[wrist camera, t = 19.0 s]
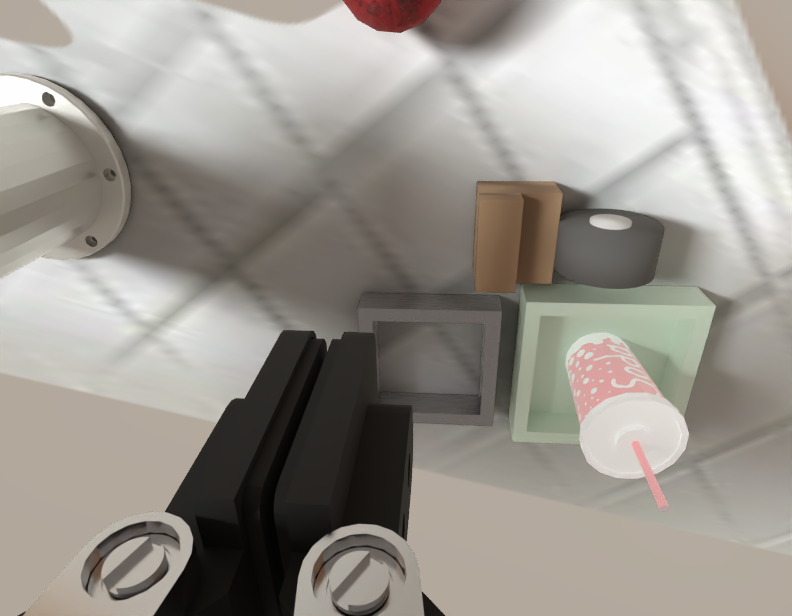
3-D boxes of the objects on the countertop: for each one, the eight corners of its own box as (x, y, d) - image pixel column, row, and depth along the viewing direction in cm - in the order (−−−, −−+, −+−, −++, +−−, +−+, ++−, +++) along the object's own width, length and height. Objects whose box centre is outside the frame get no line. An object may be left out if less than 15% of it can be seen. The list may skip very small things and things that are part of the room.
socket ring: (368, 401, 44) (364, 420, 42) (362, 292, 39) (357, 308, 37) (490, 405, 43) (492, 426, 41) (499, 295, 38) (502, 311, 36)
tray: (508, 416, 43) (512, 441, 41) (521, 283, 38) (526, 302, 35) (660, 422, 42) (674, 448, 40) (696, 286, 37) (716, 306, 34)
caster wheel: (546, 253, 37) (562, 291, 31) (551, 205, 35) (570, 236, 30) (636, 254, 36) (668, 293, 31) (645, 205, 35) (681, 237, 29)
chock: (472, 264, 38) (475, 292, 34) (476, 180, 35) (480, 200, 31) (544, 265, 37) (555, 293, 33) (554, 180, 35) (567, 200, 31)
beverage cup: (658, 348, 39) (757, 498, 26) (602, 404, 41) (667, 564, 29) (591, 308, 38) (660, 444, 25) (538, 368, 40) (577, 518, 28)
